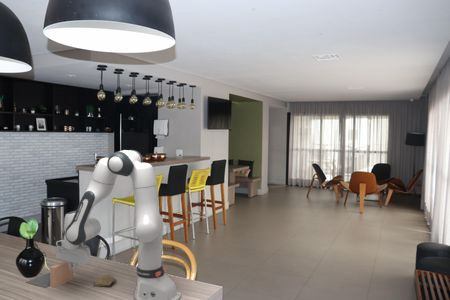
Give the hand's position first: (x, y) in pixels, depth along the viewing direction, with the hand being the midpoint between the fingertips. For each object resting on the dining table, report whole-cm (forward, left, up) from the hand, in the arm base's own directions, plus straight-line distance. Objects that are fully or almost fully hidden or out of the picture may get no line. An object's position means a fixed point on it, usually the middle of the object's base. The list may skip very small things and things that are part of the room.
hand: (73, 269), depth 181 cm
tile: (+8, 0, -8) cm, 11 cm away
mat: (+17, 0, -8) cm, 19 cm away
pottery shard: (-9, -9, -7) cm, 15 cm away
